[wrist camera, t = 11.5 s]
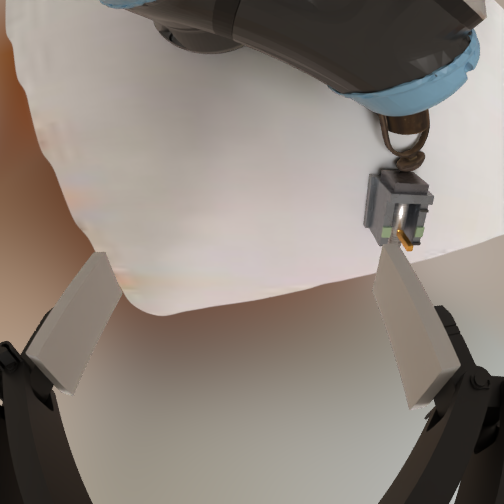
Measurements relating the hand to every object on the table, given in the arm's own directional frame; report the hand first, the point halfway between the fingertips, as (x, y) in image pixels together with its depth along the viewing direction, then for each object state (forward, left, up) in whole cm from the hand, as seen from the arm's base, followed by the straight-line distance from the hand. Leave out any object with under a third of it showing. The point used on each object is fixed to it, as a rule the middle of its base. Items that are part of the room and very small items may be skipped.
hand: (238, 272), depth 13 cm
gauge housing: (+9, +19, -27) cm, 34 cm away
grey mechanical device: (+8, +19, -25) cm, 33 cm away
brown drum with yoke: (-3, +19, -27) cm, 33 cm away
